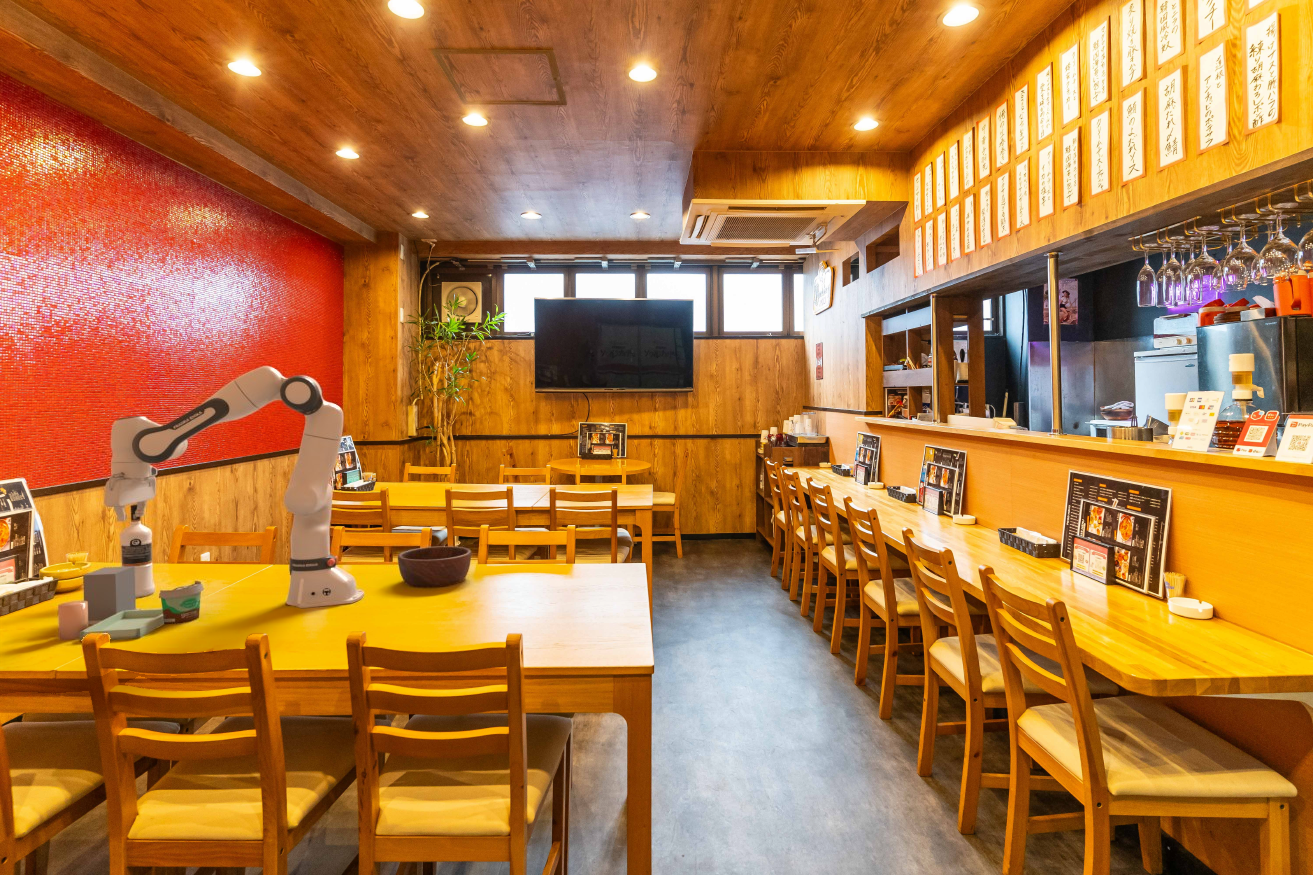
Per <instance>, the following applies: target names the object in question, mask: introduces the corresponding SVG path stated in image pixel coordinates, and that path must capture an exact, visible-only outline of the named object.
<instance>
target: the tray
mask: <svg viewBox="0 0 1313 875" xmlns="http://www.w3.org/2000/svg"><path fill="white" fill-rule="evenodd" d="M124 617H125V618H124ZM122 618H124V619H122ZM120 619H122V620H120ZM119 620H120V621H119ZM163 625H165V624H164V618H163V610H162V608H147V609H145V608H144V609H141V610H126V611H121V612H119V613H117V614H115V615H113V616H111V617H109V618H107V619H105V620H103V621H101V622H99V623H97V624H94V625H91V626H88V628H87V629H85V630H83V631H81V632H79V639H78V640H79V642H80V643H81V640H82V639H83V637H85V636H86V635H87V634H90V633H108V634H109V635H110V638H111V640H110V641H113V640H115V641H117V640H128V639H129V640H130V639H141V638H143V637H145V636H146V635H148V634H149V633H151V632H153V631H155V630H156V629H158V628H160V627H161V626H163Z"/></svg>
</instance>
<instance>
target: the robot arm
mask: <svg viewBox="0 0 1313 875" xmlns="http://www.w3.org/2000/svg"><path fill="white" fill-rule="evenodd" d="M323 395H324V394H323V389H322V387H321V385H320V384H319V382H318V381H317V380H316V379H314V378H313V377H310V376H308V375H301V374H299V375H293V376H290V377H285V376H283V374H282V373H281V372H280V371H279V370H277V369H275V368H274V367H272V366H268V365H263V366H260V367H257V368H255V369H253V370H250V371H248V372H246V373H244V374H242V375H240V376H238V377H236V378H235V379H233V380H231V381H229V383H227V384H225V385H224V386H223V387H221V388H220V389H219V390H218V391H216V392H214V393H213V395H212V396H210V397H208V398H207V399H206V400H205V401H203V402H201V404H200V405H198V406H196V407H195V408H193V409H191V410H189V411H187V412H186V413H185V414H184V413H183V415H180V416H179V417H177V418H175V419H174V420H172V421H170V422H168V423H166V424H159V423H157V422H154V421H153V420H150V419H148V418H147V417H146V416H144V415H134V416H125V417H121V418H118V419H116V420H114V422H113V424H112V427H111V433H110V434H111V435H110V448H111V451H112V457H111V461H110V468H111V470H110V471H111V473H110V474H111V476H110V478H109V479H108V480H107V481H106V483H105V488H104V489H105V490H104V498H103V499H104V502H103V503H104V505H105V507H106V508H113V511H114V513H115V514H116V520H117V522H125V521H127V520H128V514H126V512H125V510H126V506H128V505H129V506H130V505H134V504H137V505H138V506H137V510H136V511H135V516H136V517H144V516H145V510H146V508H147V505H148V501H150V500H153V499H155V497H156V494H157V478H156V476H157V475H158V468H156V467H155V466H153V465H151V464H154V465H155V464H161V463H163V462H165V461H170V460H174V459H177V458H179V457H181V456H183V454H184V453H185V452H186V451H187V449H188V446H189V441H188V440H189V439H190V438H192V437H194V436H195V435H197V434H199V433H201V432H202V431H204V430H206V429H207V428H209V427H211V426H214V425H218V424H221V423H226V422H231V421H232V422H233V421H235V420H236V421H237V420H239V419H242V418H246V417H247V416H249V415H252V414H254V413H255V412H257V411H259V410H260V409H261V408H262V409H263V407H265V406H267V405H269V404H270V403H272V402H274V401H282V403H284V405H286V407H288V408H290V409H291V410H293V411H295V412H298V413H299V414H301V415H304V417H305V422H304V423H305V424H304V429H303V431H302V432H303V434H302V437H301V442H300V447H299V452H298V456H297V459H296V462H295V464H294V468H293V469H292V470H293V471H292V472H291V476H290V479H289V482H288V485H287V488H286V491H285V492H284V497H283V503H284V504H283V505H284V507H285V508H286V510H287V511H288V512H289V513H291V514H293V519H292V520H293V522H292V527H291V532H290V557H289V563H288V565H289V568H288V569H289V576H290V582H289V590H288V593H287V598H286V601H285V604H286V605H289V606H294V607H298V608H299V609H307V608H314V607H315V608H316V607H317V608H318V607H325V606H326V607H327V606H335V605H345V604H352V603H353V604H354V603H356V602H358V601H360V600H361V599H362V598H364V596H365V592H364V590H363V589H359V588H358V587H357V582H356V580H355V577H354V576H353V575H352V574H350V573H349V572H347V571H345V570H344V569H342V568H341V567H339V566H337V565H338V564H337V563H338V555H335V556H334V555H332V554H331V552H330V548H331V547H330V546H331V545H330V544H331V543H330V542H331V540H330V539H331V537H330V533H331V532H330V529H331V522H332V521H331V519H332V507H333V496H334V491H333V487H332V485H331V484H330V480H331V477H332V475H333V472H334V469H335V467H336V464H337V461H338V456H339V450H340V448H341V447H340V446H341V443H342V442H341V441H342V436H343V430H344V411H343V409H342V408H341V407H340V406H339V405H337V404H335V403H333V402H329V401H326V400H325V399H324V396H323ZM357 588H358V589H357Z"/></svg>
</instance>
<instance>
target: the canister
mask: <svg viewBox="0 0 1313 875" xmlns="http://www.w3.org/2000/svg"><path fill="white" fill-rule="evenodd" d="M57 612H58V615H57V617H58V618H57V619H58V620H57V621H58V640H59V641H62V642H63V641H64V642H65V641H66V642H67V641H74V640H79V632H81V631H83V630H85V629H87V628H89V625H88V601H84V600H72V601H65V602H63V603H60V604H58V605H57Z"/></svg>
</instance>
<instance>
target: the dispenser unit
mask: <svg viewBox="0 0 1313 875" xmlns="http://www.w3.org/2000/svg"><path fill="white" fill-rule="evenodd" d="M82 582H83V584H82V585H83V586H82V587H83V601H88V626H90V625H91V626H93V625H95V624H97V623H99V622H101V621H103V620H105V619H107V618H109V617H111V616H113V615H115V614H117V613H119V612H121V611H126V610H142V608H136V607H137V606H136V599H137V598H135V566H126V567H121V566H110V567H109V566H108V567H107V566H105V567H102V568H99V569H97V570H94V571H91V572H87V573H85V574H83V575H82ZM124 618H125V617H124ZM124 618H122V619H124ZM122 619H120V620H122ZM120 620H119V621H120Z"/></svg>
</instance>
